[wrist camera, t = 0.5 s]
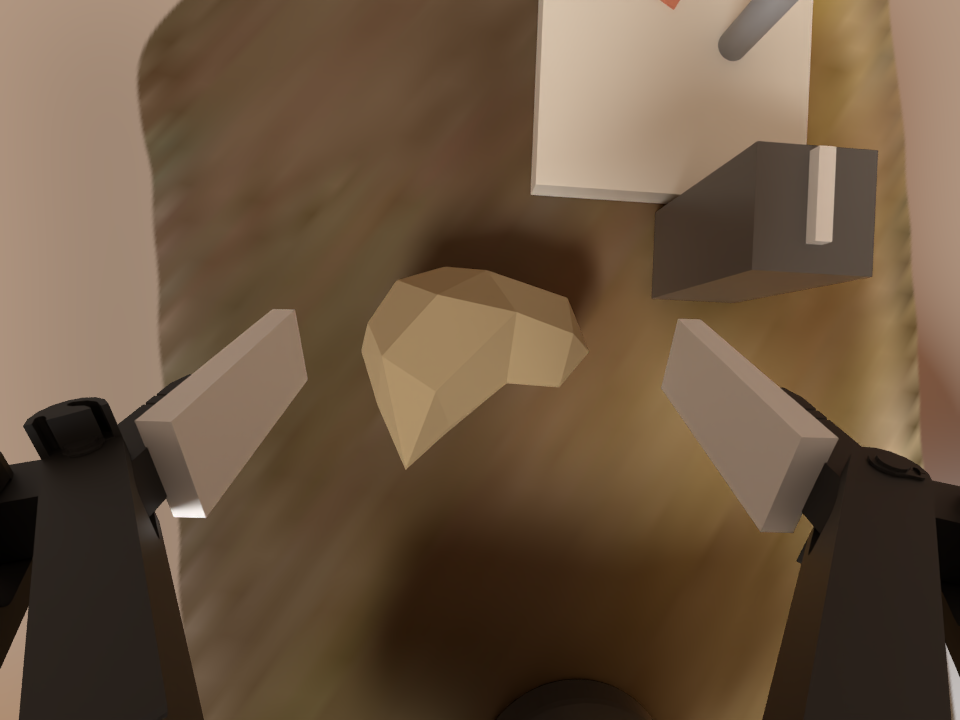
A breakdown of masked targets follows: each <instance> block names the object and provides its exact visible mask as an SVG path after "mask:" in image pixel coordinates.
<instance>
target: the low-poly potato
mask: <svg viewBox="0 0 960 720" xmlns="http://www.w3.org/2000/svg"><path fill="white" fill-rule="evenodd" d="M588 353H589V350H588V348H587V345H586V343H585V340H584V338H583V335H582V333H581V330H580V328H579V325H578V323H577V320H576V318H575V315H574V313H573V310H572V308H571V305H570V303H569V300H568V298H566V297H563V296H560V295H558V294H555V293H552V292H549V291H546V290H543V289H540V288H537V287H534V286H531V285H529V284H526V283H523V282H520V281H517V280H514V279H511V278H508V277H505V276H502V275H500V274H497V273H494V272H491V271H488V270H479V269H467V268H455V267H442V268H438V269H435V270H431V271H427V272H424V273H420V274H417V275H413V276H410V277H406V278H402V279H399V280H397V281H396V282H395V284H394V285H393V287H392V288H391V290H390V291H389V292H388V294H387V295H386V297H385V298H384V300H383V301H382V303H381V304H380V306H379V307H378V309H377V310H376V312H375V313H374V315H373V316H372V317H371V319H370V320H369V322H368V325H367V329H366V333H365V338H364V342H363V346H362V355H363V358H364V361H365V364H366V368H367V371H368V374H369V378H370V381H371V384H372V388H373V391H374V394H375V398H376V401H377V404H378V407H379V409H380V411H381V414H382V416H383V418H384V421H385V423H386V425H387V428H388V430H389V432H390V435H391V437H392V439H393V442H394V444H395V446H396V448H397V451H398V453H399V455H400V458H401V460H402V462H403V465H404V467H405V469H407V468H408V467H409V466H410V465H411V464H413V463H414V462H415V461H416V460H417V459H418V458H419V457H420V456H421V455H423V454H424V453H425V452H426V451H427V450H428V449H429V448H430V447H431V446H433V445H434V444H435V443H436V442H437V441H438V440H439V439H440V438H441V437H442V436H444V435H445V434H446V433H447V432H448V431H449V430H451V429H452V428H453V427H454V426H455V425H457V424H458V423H459V422H460V421H461V420H463V419H464V418H465V417H466V416H467V415H469V414H470V413H471V412H472V411H474V410H475V409H476V408H477V407H478V406H480V405H481V404H482V403H483V402H484V401H486V400H487V399H488V398H489V397H490V396H492V395H493V394H494V393H495V392H496V391H498V390H499V389H500V388H501V387H502V386H504V385H505V384H506V383H511V384H523V385H536V386H549V387H560V386H561V385H562V383H563V382H564V381H565V380H566V379H567V378H568V376H569V375H570V374H571V373H572V372H573V370H574V369H575V368H576V367H577V366H578V364H579V363H580V362H581V361H582V360H583V359H584V357H585V356H586V355H587V354H588Z"/></svg>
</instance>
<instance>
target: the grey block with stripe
mask: <svg viewBox="0 0 960 720" xmlns="http://www.w3.org/2000/svg"><path fill="white" fill-rule="evenodd" d="M877 161H878V150H866V149H853V148H841V147H834V146H822V145H819V146H816V145H803V144H790V143H778V142H765V141H757V142H755V143H754V144H752V145H751V146H750V147H748V148H747V149H745V150H744V151H742V152H741V153H740V154H738V155H737V156H735V157H734V158H732V159H731V160H730V161H728V162H727V163H725V164H724V165H722V166H721V167H720V168H718V169H717V170H715V171H714V172H712V173H711V174H710V175H708V176H707V177H705V178H704V179H702V180H701V181H700V182H698V183H697V184H695V185H694V186H692V187H691V188H690V189H688V190H687V191H685V192H684V193H682V194H681V195H680V196H678V197H677V198H675V199H674V200H672V201H671V202H670V203H668V204H667V205H665V206H664V207H662V208H661V209H660V210H658V211H657V212H655V232H654V255H653V278H652V299H670V300H689V301H708V302H727V303H736V302H741V301H746V300H752V299H757V298H762V297H768V296H773V295H778V294H784V293H789V292H794V291H800V290H805V289H810V288H815V287H821V286H826V285H831V284H837V283H842V282H847V281H853V280H858V279H863V278H869V277H872V270H873V248H874V226H875V205H876V183H877Z"/></svg>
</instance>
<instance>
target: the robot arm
mask: <svg viewBox="0 0 960 720" xmlns="http://www.w3.org/2000/svg"><path fill="white" fill-rule="evenodd" d="M307 380H308V379H307V373H306V368H305V362H304V357H303V351H302V346H301V340H300V335H299V329H298V324H297V318H296V313H295V310H290V309H272V310H271V311H270V312H268V313H267V314H266V315H265V316H264V317H262V318H261V319H260V320H259V321H257V322H256V323H255V324H254V325H252V326H251V327H250V328H249V329H247V330H246V331H245V332H244V333H242V334H241V335H240V336H239V337H238V338H236V339H235V340H234V341H233V342H231V343H230V344H229V345H228V346H226V347H225V348H224V349H223V350H221V351H220V352H219V353H218V354H217V355H215V356H214V357H213V358H212V359H210V360H209V361H208V362H207V363H205V364H204V365H203V366H202V367H200V368H199V369H198V370H197V371H196V372H194V373H193V374H189V375H187V376H185V377H183V378H181V379H179V380H176V381H174V382H172V383H170V384H169V385H168V386H166V387H165V388H164V389H163V390H161V391H160V392H159V393H158V394H157V396H154V397H152V398H151V399H150V400H149V401H147V402H146V405H142V406H141V407H139V408H138V409H137V410H136V411H134V412H133V413H132V414H131V415H129V416H128V417H127V418H125V419H124V420H123V421H122V422H120V423H119V424H118V425H117V423H116V420H115V418H114V416H113V413H112V411H111V409H110V406H109V404H108V403H107V401H106V400H105V399H101V398H96V397H94V398H92V397H91V398H79V399H74V400H68V401H65V402H62V403H59V404H55V405H52V406H50V407H48V408H46V409H44V410H41V411H39V412H37V413H36V414H34V415H33V416H32V417H30V418H29V419H27V421H26V422H25V424H24V426H23V427H24V429H25V431H26V432H27V434H28V436H29V438H30V440H31V441H32V443H33V445H34V447H35V449H36V450H37V452H38V454H39V456H40V458H41V460H37V461H31V462H24V463H19V464H13V465H8V463H7V461H6V460H5V458H4V456H3V454H2V453H1V452H0V668H1V666H2V664H3V662H4V659H5V657H6V655H7V653H8V650H9V648H10V646H11V644H12V642H13V639H14V637H15V635H16V633H17V630H18V628H19V626H20V624H21V621H22V619H23V617H24V615H25V612H26V610H27V608H28V606H29V609H28V621H27V633H26V644H25V655H24V667H23V679H22V690H21V701H20V713H19V720H204V718H203V714H202V709H201V705H200V700H199V696H198V691H197V687H196V683H195V678H194V674H193V669H192V665H191V660H190V656H189V651H188V647H187V643H186V638H185V634H184V629H183V625H182V620H181V616H180V611H179V607H178V603H177V599H176V594H175V589H174V585H173V580H172V576H171V571H170V568H169V563H168V558H167V554H166V550H165V545H164V540H163V536H162V532H161V527H160V523H159V520H158V518H157V516H156V513H155V510H156V509H157V508H158V507H159V506H160V504H161V503H162V502H163V501H164V500H165V499H167V502H168V504H169V506H170V509H171V511H172V514H173V516H174V517H193V518H206V517H207V516H208V514H209V513H210V512H211V510H212V509H213V508H214V506H215V505H216V504H217V502H218V501H219V499H220V498H221V497H222V495H223V494H224V493H225V491H226V490H227V489H228V487H229V486H230V484H231V483H232V482H233V480H234V479H235V478H236V476H237V475H238V474H239V472H240V471H241V470H242V468H243V467H244V465H245V464H246V463H247V461H248V460H249V459H250V457H251V456H252V455H253V453H254V452H255V450H256V449H257V448H258V446H259V445H260V444H261V442H262V441H263V440H264V438H265V437H266V436H267V434H268V433H269V431H270V430H271V429H272V427H273V426H274V425H275V423H276V422H277V421H278V419H279V418H280V416H281V415H282V414H283V412H284V411H285V410H286V408H287V407H288V406H289V404H290V403H291V402H292V400H293V399H294V397H295V396H296V395H297V393H298V392H299V391H300V389H301V388H302V387H303V385H304V384H305V382H306V381H307ZM661 389H662V390H663V391H664V393H665V394H666V396H667V397H668V399H669V400H670V402H671V403H672V404H673V406H674V407H675V409H676V410H677V412H678V413H679V415H680V416H681V418H682V419H683V420H684V422H685V423H686V425H687V426H688V428H689V429H690V431H691V432H692V433H693V435H694V436H695V438H696V439H697V441H698V442H699V444H700V445H701V446H702V448H703V449H704V451H705V452H706V454H707V455H708V457H709V458H710V459H711V461H712V462H713V464H714V465H715V467H716V468H717V470H718V471H719V473H720V474H721V475H722V477H723V478H724V480H725V481H726V483H727V484H728V486H729V487H730V488H731V490H732V491H733V493H734V494H735V496H736V497H737V499H738V500H739V501H740V503H741V504H742V506H743V507H744V509H745V510H746V512H747V513H748V515H749V516H750V517H751V519H752V520H753V522H754V523H755V525H756V526H757V528H758V529H759V530H760V532H781V533H793V532H794V530H795V528H796V526H797V524H798V522H799V520H800V517H801V515H802V513H803V514H804V515H805V516H806V518H807V519H808V520H809V521H810V522H811V524H812V525H813V526H814V527H813V529H812V531H811V533H810V535H809V537H808V539H807V541H806V543H805V545H804V547H803V549H802V551H801V553H800V555H799V557H798V559H797V562H799V563H801V568H800V572H799V576H798V580H797V584H796V588H795V592H794V596H793V600H792V604H791V608H790V612H789V616H788V620H787V624H786V628H785V632H784V636H783V639H782V643H781V647H780V651H779V655H778V659H777V663H776V667H775V671H774V675H773V679H772V683H771V687H770V691H769V695H768V699H767V703H766V707H765V711H764V715H763V719H762V720H951V711H950V698H949V685H948V672H947V660H946V647H945V643H946V645H947V648H948V650H949V652H950V655H951V657H952V659H953V662H954V664H955V667H956V669H957V671H958V674H959V676H960V486H955V485H951V484H946V483H941V482H937V481H932V480H931V478H930V476H929V474H928V473H927V472H926V471H925V470H924V469H922V468H921V467H920V466H919V465H917V464H915V463H914V462H912V461H910V460H908V459H907V458H905V457H902V456H900V455H897V454H895V453H892V452H889V451H886V450H882V449H878V448H870V447H861V446H860V445H859V444H858V443H856V442H855V441H854V440H853V439H852V438H850V437H849V436H848V435H847V434H846V433H844V432H843V431H842V430H841V429H840V428H838V427H837V426H836V425H835V424H834V423H832V422H831V421H830V420H827V418H826V417H825V416H824V415H823V414H822V413H820V412H819V411H816V408H814V407H813V406H812V405H811V404H809V403H808V402H807V401H806V400H805V399H803V398H802V397H800V396H798V395H796V394H795V393H793V392H791V391H789V390H787V389H785V388H780V387H779V386H777V385H776V384H775V383H774V382H773V381H772V380H770V379H769V378H768V377H767V376H766V375H765V374H763V373H762V372H761V371H760V370H759V369H758V368H756V367H755V366H754V365H753V364H752V363H751V362H749V361H748V360H747V359H746V358H745V357H744V356H742V355H741V354H740V353H739V352H738V351H737V350H736V349H734V348H733V347H732V346H731V345H730V344H729V343H727V342H726V341H725V340H724V339H723V338H722V337H720V336H719V335H718V334H717V333H716V332H715V331H713V330H712V329H711V328H710V327H709V326H708V325H706V324H705V323H704V322H703V321H702V320H701V319H678V321H677V325H676V329H675V333H674V337H673V342H672V346H671V350H670V354H669V358H668V362H667V366H666V371H665V375H664V379H663V383H662V387H661ZM496 720H653V719H652V718H651V716H650V715H649V714H648V713H647V711H646V710H645V709H644V708H643V707H642V706H641V705H640V704H639V703H638V702H637V701H636V700H634V699H633V698H632V697H631V696H629V695H628V694H626V693H625V692H623V691H621V690H619V689H617V688H615V687H613V686H610V685H607V684H604V683H601V682H596V681H591V680H577V679H576V680H563V681H558V682H553V683H549V684H546V685H543V686H541V687H538V688H536V689H534V690H532V691H530V692H528V693H526V694H524V695H523V696H521V697H520V698H518V699H517V700H516V701H514V702H513V703H512V704H511V705H509V706H508V707H507V708H506V709H505V710H504V711H503V712H502V713H501V714H500V715H499V717H498V718H497V719H496Z"/></svg>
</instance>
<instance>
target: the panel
mask: <svg viewBox="0 0 960 720" xmlns="http://www.w3.org/2000/svg"><path fill="white" fill-rule="evenodd" d="M812 13H813V0H539V5H538V29H537V52H536V76H535V100H534V124H533V148H532V172H531V195H541V196H556V197H571V198H586V199H600V200H615V201H630V202H645V203H659V204H668V203H670V202H671V201H672V200H674V199H675V198H677V197H678V196H680V195H681V194H682V193H684V192H685V191H687V190H688V189H690V188H691V187H692V186H694V185H695V184H697V183H698V182H700V181H701V180H702V179H704V178H705V177H707V176H708V175H710V174H711V173H712V172H714V171H715V170H717V169H718V168H720V167H721V166H722V165H724V164H725V163H727V162H728V161H730V160H731V159H732V158H734V157H735V156H737V155H738V154H740V153H741V152H742V151H744V150H745V149H747V148H748V147H750V146H751V145H752V144H754V143H755V142H757V141H765V142H778V143H790V144H803V145H807V124H808V102H809V79H810V57H811V35H812Z"/></svg>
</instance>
